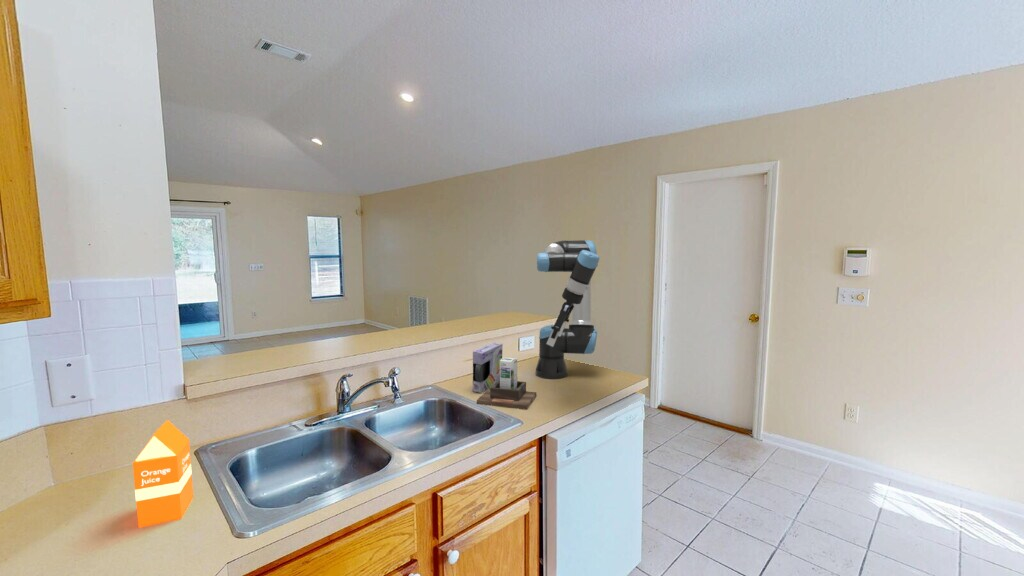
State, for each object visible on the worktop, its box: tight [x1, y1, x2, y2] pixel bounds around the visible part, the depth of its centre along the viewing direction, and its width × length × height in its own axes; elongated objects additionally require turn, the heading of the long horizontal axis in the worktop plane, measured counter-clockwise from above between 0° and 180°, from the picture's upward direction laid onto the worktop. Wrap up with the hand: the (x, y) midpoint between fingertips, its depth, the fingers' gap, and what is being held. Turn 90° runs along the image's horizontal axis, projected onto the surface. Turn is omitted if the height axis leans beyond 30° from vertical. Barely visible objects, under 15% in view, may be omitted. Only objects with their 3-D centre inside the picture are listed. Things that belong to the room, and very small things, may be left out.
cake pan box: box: [472, 341, 503, 394], centre depth 178 cm, size 19×5×18 cm, turn 152°
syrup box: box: [500, 357, 518, 390], centre depth 164 cm, size 6×6×14 cm
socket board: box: [476, 379, 537, 411], centre depth 163 cm, size 15×20×6 cm
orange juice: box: [132, 419, 194, 529], centre depth 93 cm, size 8×9×20 cm
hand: (553, 340), depth 161 cm, fingers open, 13 cm apart
